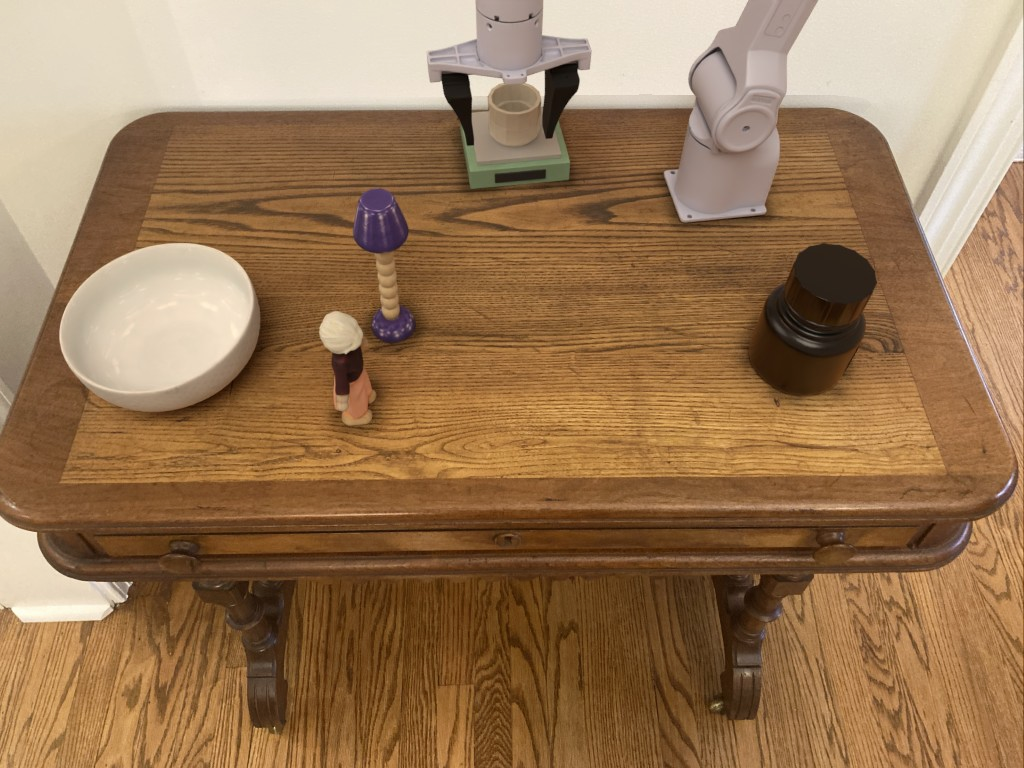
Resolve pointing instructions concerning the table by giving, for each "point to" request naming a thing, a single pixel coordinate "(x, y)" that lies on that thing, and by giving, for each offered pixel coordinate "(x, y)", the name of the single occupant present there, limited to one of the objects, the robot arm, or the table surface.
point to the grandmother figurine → (348, 367)
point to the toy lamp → (384, 259)
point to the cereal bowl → (161, 327)
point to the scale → (513, 158)
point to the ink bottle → (813, 320)
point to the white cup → (514, 114)
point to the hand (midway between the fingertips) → (508, 135)
